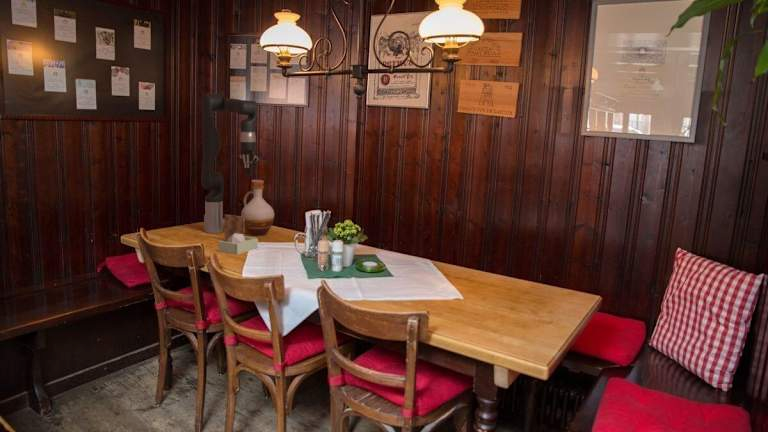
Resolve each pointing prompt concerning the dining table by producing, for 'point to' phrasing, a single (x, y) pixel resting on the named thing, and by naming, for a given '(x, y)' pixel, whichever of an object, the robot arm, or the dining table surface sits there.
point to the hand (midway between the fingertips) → (248, 175)
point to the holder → (238, 246)
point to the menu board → (234, 226)
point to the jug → (257, 211)
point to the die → (236, 238)
